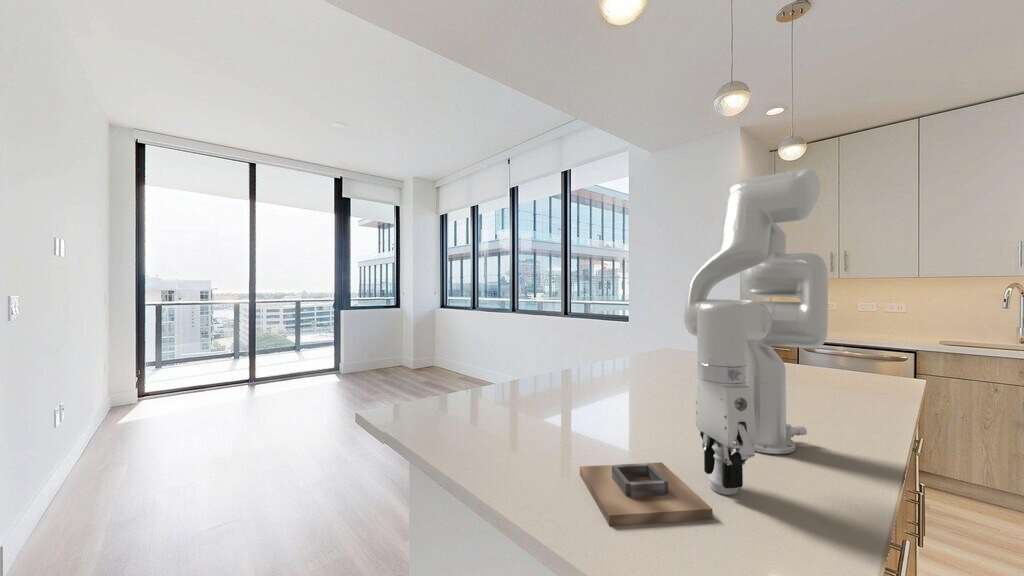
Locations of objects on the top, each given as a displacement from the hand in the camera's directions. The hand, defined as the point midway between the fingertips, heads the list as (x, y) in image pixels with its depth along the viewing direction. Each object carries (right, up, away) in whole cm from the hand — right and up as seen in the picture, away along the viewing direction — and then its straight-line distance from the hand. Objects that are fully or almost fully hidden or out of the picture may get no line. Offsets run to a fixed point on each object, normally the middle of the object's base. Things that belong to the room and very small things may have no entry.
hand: (722, 478), depth 68 cm
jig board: (-15, -2, -1) cm, 15 cm away
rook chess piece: (0, -2, 0) cm, 2 cm away
